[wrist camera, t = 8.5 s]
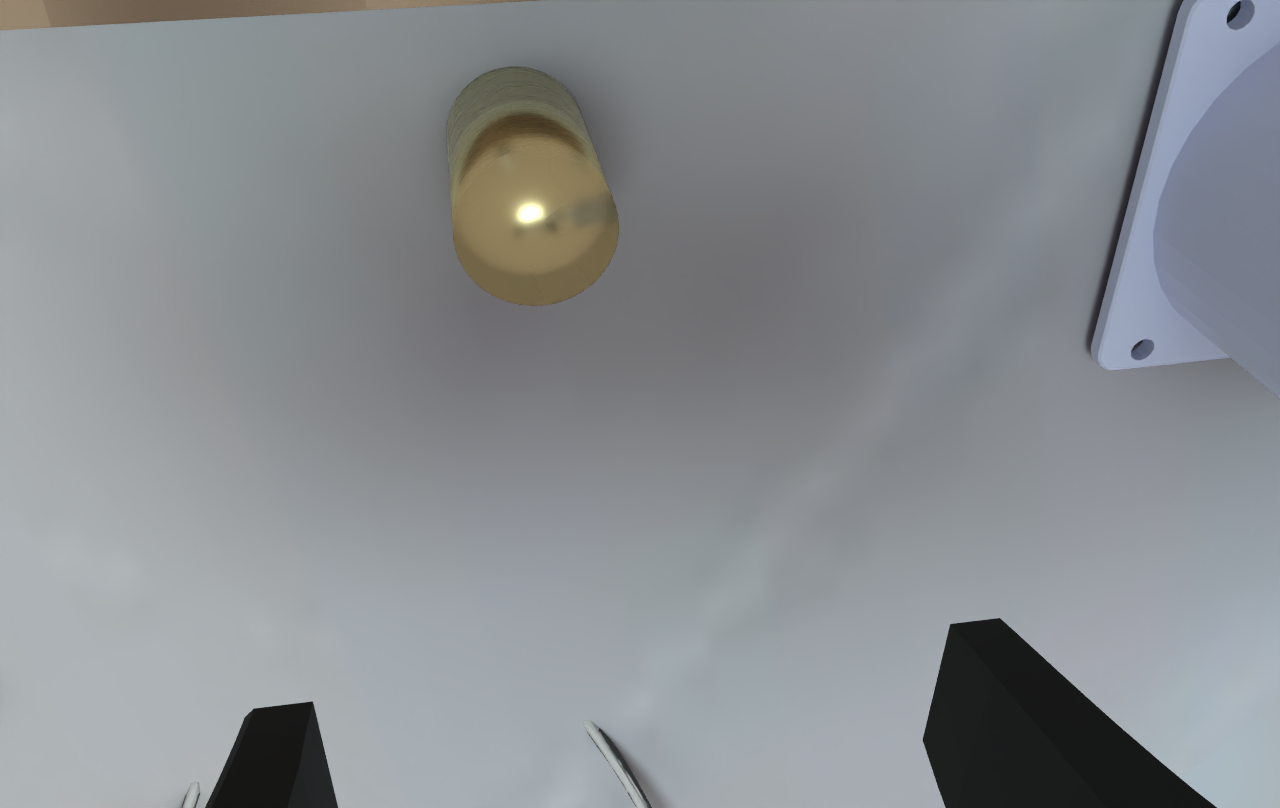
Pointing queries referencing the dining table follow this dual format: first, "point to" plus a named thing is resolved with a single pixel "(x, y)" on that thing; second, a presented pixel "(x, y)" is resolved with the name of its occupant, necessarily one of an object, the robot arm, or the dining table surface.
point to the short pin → (527, 189)
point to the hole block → (182, 10)
